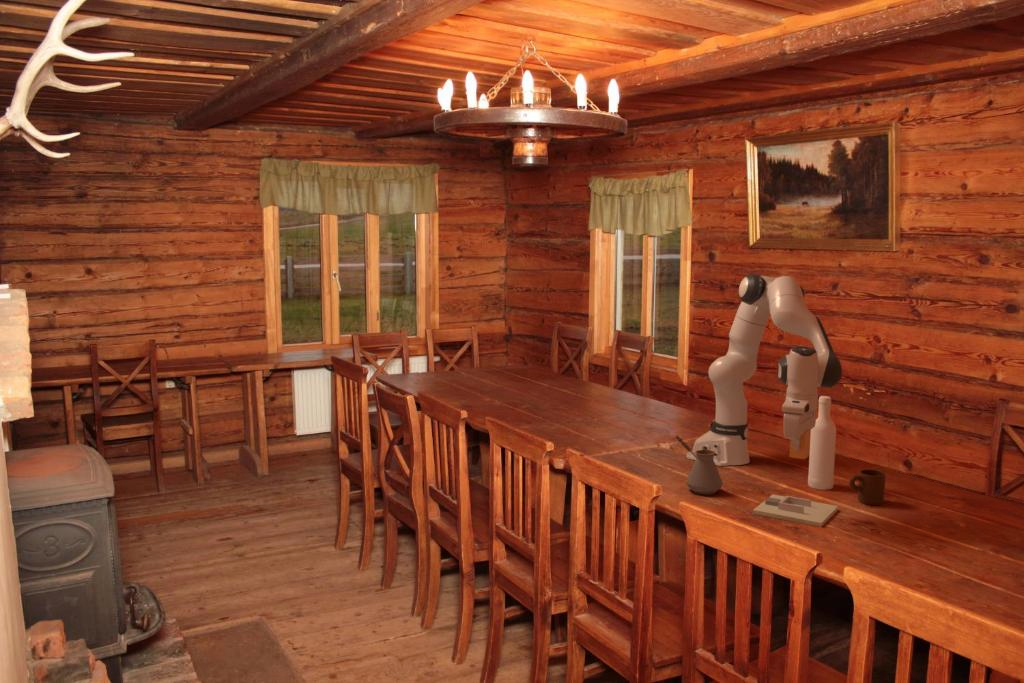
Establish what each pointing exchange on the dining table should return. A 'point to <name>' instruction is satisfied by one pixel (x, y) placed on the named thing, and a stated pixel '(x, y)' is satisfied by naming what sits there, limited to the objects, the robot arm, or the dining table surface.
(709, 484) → the coffee pot
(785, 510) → the mount deck
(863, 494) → the mug
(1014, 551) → the dining table surface
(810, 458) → the bottle
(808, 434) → the orange rectangular block
